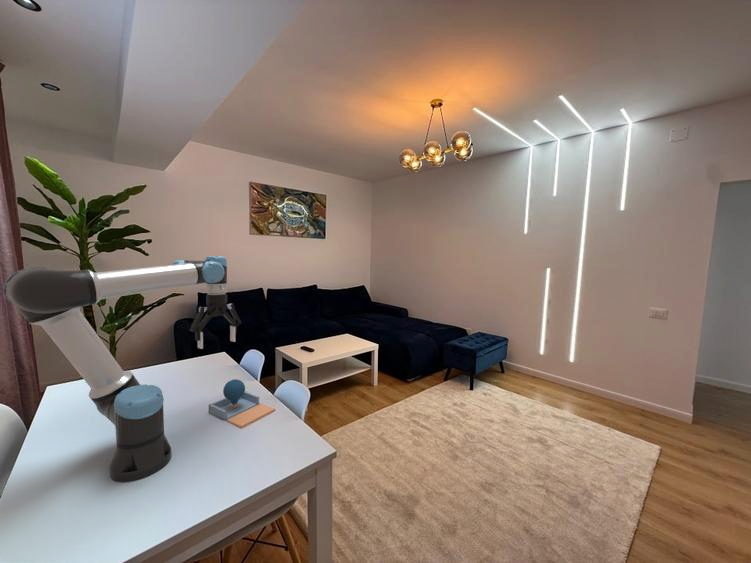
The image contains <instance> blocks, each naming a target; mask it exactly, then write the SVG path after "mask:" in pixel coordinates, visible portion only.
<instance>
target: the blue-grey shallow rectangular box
mask: <svg viewBox="0 0 751 563" xmlns="http://www.w3.org/2000/svg"><path fill="white" fill-rule="evenodd" d="M258 404H260V396H259V395H256V394H253V393H251V392H249V391H246V390H245V392H244V394H243V395H242V397H241V398H239V399H238V402H237V407H236V408H233V407H232V403H231V401H230V400H228V399H227V398H225V397H224V398H221V399H218V400H216V401H214V402H211V403H210V404H208V413H209V414H211V415H213V416H214V417H216V418H219V419H220V420H223V421H225V422H226V420H227V419H229V418H231V417H233V416H235V415H237V414H240V413H242V412H244V411H246V410H248V409H250V408H252V407H254V406H256V405H258Z"/></svg>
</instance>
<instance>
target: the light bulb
mask: <svg viewBox="0 0 751 563" xmlns="http://www.w3.org/2000/svg"><path fill="white" fill-rule="evenodd" d="M245 391H246V386H245V383H244V382H243V381H242V380H240V379H236V378H235V379H230V380H229V381H228V382H226V384H225V385H224V386H223V390H222V393H223V396H224V398H227V399H228V400H230V401H231V403H232V407H233V408H236V407H237V402H238V399H239V398H241V397H242V395H243V394H244V392H245Z"/></svg>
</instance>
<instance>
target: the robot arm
mask: <svg viewBox="0 0 751 563" xmlns="http://www.w3.org/2000/svg"><path fill="white" fill-rule="evenodd" d="M227 278H228V263H227V258H226V256H223V255H221V256H220V255H207V256H206V257H205V260H188V259H183V260H179V259H178V260H174V261H173V262H172V264H168V265H158V266H157V265H156V266H147V267H146V266H145V267H138V268H128V269H118V270H109V271H108V270H107V271H100V272H99V271H98V272H97V271H96V272H94V271H92V270H91V269H79V270H63V269H62V270H61V269H52V268H48V267H43V266H31V267H28V268H23V269H21V270H18V271H16V272H14V273H13V274H11V275H10V276H9V277H8V278H7V279H6V280H5V282H4V284H3V295H4V297H5V298H6V299H7V301H8V302H10V303H11V304H12V305H13V306H15V307H16V309H17V311H18V312H19V313H20V314H21V315H22V316H23V317H24V318H25V320H26V322H28V324H29V325H35V326H40V327H42V329H43V330H44V331H45V333H46V334H47V335H48V336H49V337H50V339H51V340H52V341H53V342H54V344H55V346H57V348H58V349H59V350H60V352H61V353H62V354H63V355H64V356H65V357H66V359H67V360H68V361H69V363H70V364H71V365H72V366H73V367H74V369H75V370H76V371H77V373H79V375H80V376H81V378H82V379H83V380H84V381H85V383H86V384H87V385H88V387H90V390H89V392H88V397H89V398H90V400H91V401H92V403H93V404H94V405H95V407H96V410H97V411H98V412H99V413H100V414H101V415H102V416H104V417H105V418H106V419H108V420H109V421H110V422H111V423H112V424H113V425H114V427H115V437H116V438H115V441H116V447H115V451H114V454H113V457H112V460H111V463H110V466H109V477H110V479H111V480H114V481H115V482H132V481H137V480H139V479H144V478H146V477H148V476H151V475H153V474H155V473H157V472H158V471H160V470H161V469H162V468H164V467H165V466H166V465H167V464H168V463H169V462H170V461H171V459H172V456H173V455H172V453H173V452H172V446H171V444H170V443H169V441H168V438H167V437H166V435H165V423H164V422H165V420H164V418H165V417H164V416H165V414H164V396H163V395H164V394H163V391H162V389H161V388H160V387H159V386H156V385H154V384H140V382H139V381H138V380H137V378H136V377H135V376H134V374H133V372H132V371H130V370H129V371H128V370H123V369H122V367H121V365H120V364H119V363H118V362H117V360H116V359H115V357H114V356H113V354H111V352H110V350H109V349H108V348H107V347H106V345H105V344H104V342H103V341H102V339H101V338H100V337H99V335H98V334H97V332H96V331H95V329H94V328H93V327H92V325H91V324H90V323H89V321H88V320H87V319H86V317H85V316H84V314H83V313H82V312H81V307H82V308H83V307H86V306H92V305H97V304H98V303H99V302H100V301H101V300H105V299H113V298H119V297H123V296H130V295H131V296H133V295H136V294H143V293H149V292H155V291H160V290H161V291H163V290H168V289H173V288H178V287H179V288H181V287H186V286H193V285H199V284H206V286H205V290H206V296H205V297H206V306H199V307H198V308H197V313H196V315H195V317H194V319H193V322H192V323H191V326H190V328H189V331H190V332H192V333H194V339H195V341H196V342H197V349H201V350H203V349H204V332H203V329H204V328H205V327H206V325H208V322H210V320H211V319H212V318H213V317H214V318H216V317H222V316H223V317H224V319H226V320H227V322H229V324H230V325H229V330H230V331H229V332H230V334H229V341H230V342H233V343H235V342H236V334H237V333H238V327H239V325H242V320H241V319H240V317H239V315H238V313H237V311H236V309H235V304H234V303H228V294H227V293H228V279H227ZM227 303H228V304H227ZM227 310H229V312H230V314H231V315H230V314H229V313H228V311H227ZM205 312H206V313H205ZM204 314H205V315H204ZM231 316H232V317H231Z"/></svg>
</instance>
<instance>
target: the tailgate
mask: <svg viewBox="0 0 751 563" xmlns="http://www.w3.org/2000/svg"><path fill="white" fill-rule="evenodd" d="M275 412H276V408H274V407H272V406H269V405H266V404H263V403H259V404H258V405H256V406H254V407H252V408H250V409H248V410H246V411H244V412H242V413H239V414H237V415H235V416H233V417H231V418H229V419H227V420H225V422H227V423H229V424H231V425H233V426H234V427H238V428H240V429H245V428H246V427H247V426H250V425H252V424H253V423H255V422H257V421H259V420H261V419H263V418H265V417H267V416H269V415H271V414H272V413H275Z"/></svg>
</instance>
